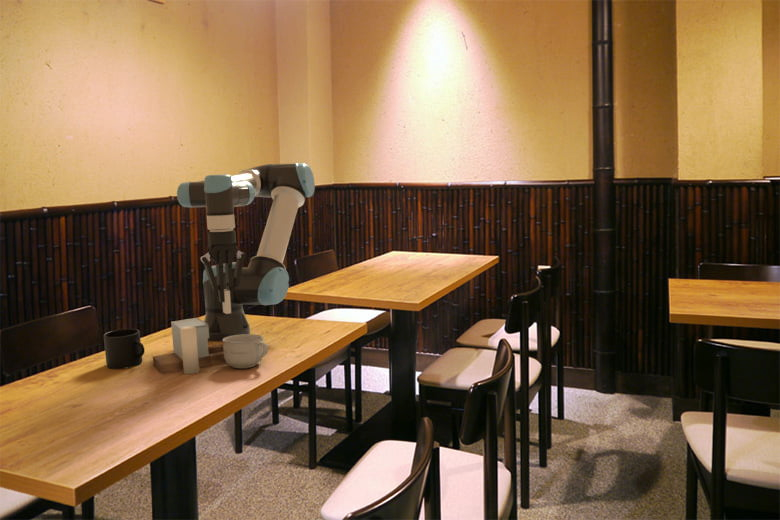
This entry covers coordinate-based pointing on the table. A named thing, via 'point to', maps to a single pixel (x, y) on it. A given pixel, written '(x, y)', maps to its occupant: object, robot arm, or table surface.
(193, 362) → the pin
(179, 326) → the cover
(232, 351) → the teacup
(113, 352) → the mug
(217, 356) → the wooden tray
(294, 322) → the table surface
